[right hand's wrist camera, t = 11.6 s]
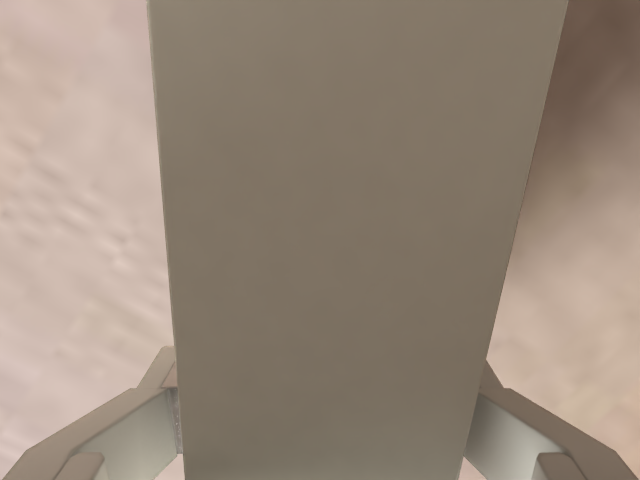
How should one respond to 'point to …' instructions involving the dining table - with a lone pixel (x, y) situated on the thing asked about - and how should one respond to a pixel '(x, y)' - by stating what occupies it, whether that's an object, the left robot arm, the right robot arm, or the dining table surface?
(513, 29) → the bar
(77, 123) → the dining table surface
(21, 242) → the dining table surface
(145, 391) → the right robot arm
